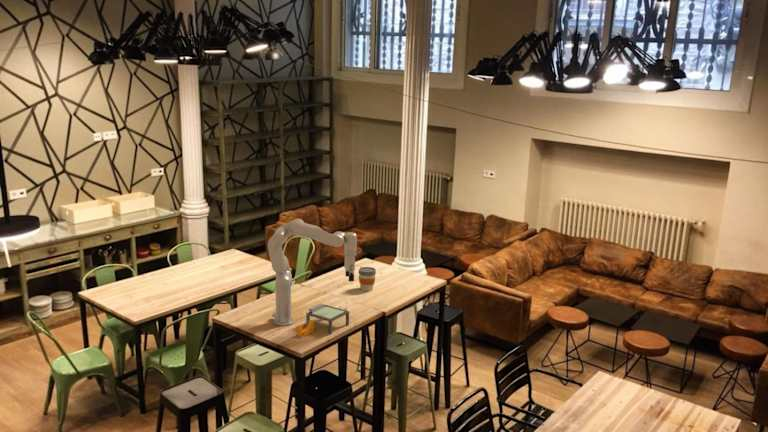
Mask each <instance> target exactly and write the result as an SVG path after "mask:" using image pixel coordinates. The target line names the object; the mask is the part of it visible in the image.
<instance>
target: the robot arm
mask: <svg viewBox="0 0 768 432" xmlns="http://www.w3.org/2000/svg"><path fill="white" fill-rule="evenodd" d="M293 235H295V236H298V237H299V236H300V237H303V238H307V239H311V240H314V241H316V242H319V243H321V244H323V245H327V246H329V247H335V248H341V247H342V246H344V250H343V255H344V261H343V262H344V264H343V265H344V266H343V268H344V270H345V277H348V282H354V281H355V269H356V256H357V247H358V246H357V242H358V241H357V238H358V236H357V234H356V233H355V232H353V231H351V232H349V231H348V232H343V231H340V230H339V231H335V232H333V233H330V232H327V231H325V230H323V228H321V227H320V226H318V225H314V224H310V223H307V222H305V221H304V220H303V219H301V218H295V219H293V220H290V221H289V222H286V223H284V224H283V225H280V226H279V227H277V228H276V229H275V230H274V233H273V235H272V236H271V237H270V238H269V240H268V242H267V250H268V255H269V260H270V263H271V268H272V270H273V272H275V274H276V275H275V276H276V277H275V281H274V287H275V288H274V289H275V312H272V314H271V317H272V318H274V319H273V324H274V325H277V326H280V327H282V326H283V327H284V326H285V327H286V326H289V325H293V323H294V321H295V320H294V319H293V318H292V279H293V275H292V271H291V267H290V262H289V259H288V257H287V256H286V255H285V254H284V251H283V245H284V243H286V242H287V240H288V238H290V237H292V236H293Z"/></svg>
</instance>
